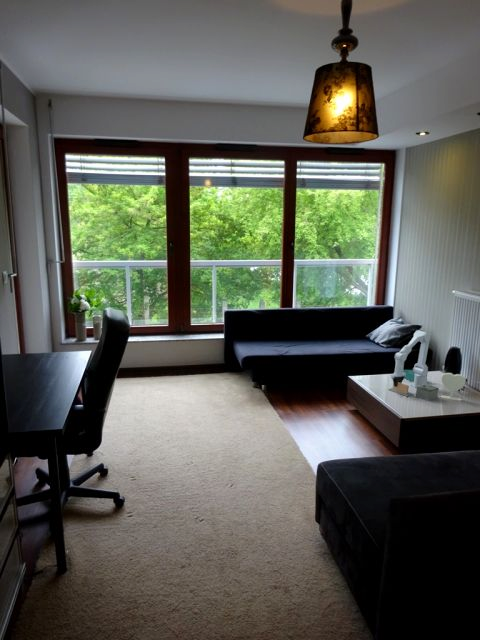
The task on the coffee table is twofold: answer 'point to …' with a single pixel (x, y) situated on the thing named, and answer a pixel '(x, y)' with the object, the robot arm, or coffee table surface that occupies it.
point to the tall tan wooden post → (401, 388)
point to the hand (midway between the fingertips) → (397, 386)
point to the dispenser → (427, 392)
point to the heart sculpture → (453, 383)
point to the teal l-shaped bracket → (409, 375)
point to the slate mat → (400, 392)
